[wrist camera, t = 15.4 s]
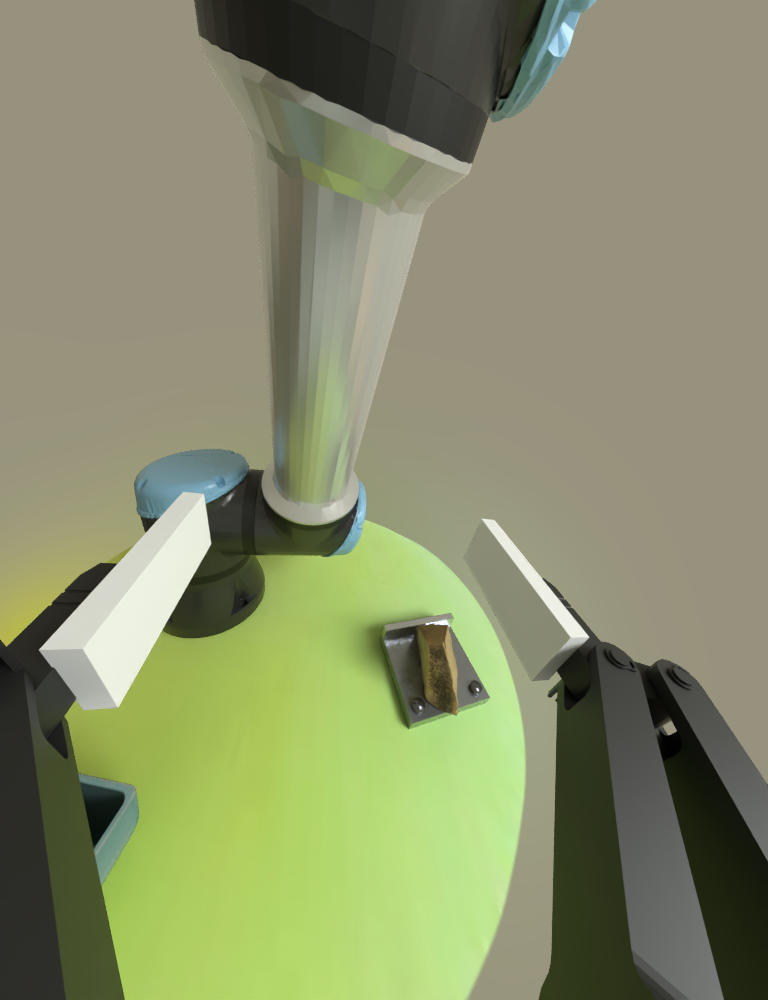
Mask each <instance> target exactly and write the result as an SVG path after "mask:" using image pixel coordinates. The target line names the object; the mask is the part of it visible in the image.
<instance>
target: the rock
mask: <svg viewBox="0 0 768 1000" xmlns="http://www.w3.org/2000/svg"><path fill="white" fill-rule="evenodd" d="M416 638H417V643H418V647H419V654H420V658H421V670H422V679H423V683H424V694H425V697H426V699H427V701H429V702H430V703H431V704H433V705H434V706H435V707H437V708H438V709H440V710H441V711H443V712H446V713H449V714H454V715H457V714H458V710H457V709H458V700H457V677H458V670H457V666H456V660H455V656H454V654H453V649H452V639H451V635H450V632H449V626H448V625H439V624H438V625H436V624H434V623H432V624H428V625H425V626H422V625H421V626H418V627H416Z"/></svg>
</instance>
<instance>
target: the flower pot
mask: <svg viewBox="0 0 768 1000" xmlns="http://www.w3.org/2000/svg"><path fill="white" fill-rule="evenodd" d="M78 775H79V780H80V785H81V790H82V795H83V800H84V804H85V809H86V814H87V819H88V824H89V829H90V834H91V838H92V843H93V848H94V853H95V858H96V863H97V868H98V872H99V877H100V882H101V886H102V884H103V883H104V881H105V879H106V877H107V876H108V874H109V872H110V871H111V869H112V867H113V866H114V864H115V862H116V861H117V859H118V857H119V856H120V854H121V852H122V851H123V849H124V847H125V846H126V844H127V842H128V841H129V839H130V837H131V835H132V833H133V831H134V829H135V827H136V824H137V822H138V817H139V808H138V800H137V795H136V788H135V787H134V786H133V785H131V784H127V783H121V782H117V781H112V780H107V779H103V778H98V777H94V776H89V775H85V774H81V773H78Z"/></svg>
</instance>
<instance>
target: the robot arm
mask: <svg viewBox="0 0 768 1000" xmlns="http://www.w3.org/2000/svg"><path fill="white" fill-rule="evenodd" d="M194 1H195V9H196V15H197V23H198V30H199V37H200V43H201V49H202V53H203V55H204V56H205V58H206V60H207V62H208V63H209V65H210V67H211V68H212V70H213V72H214V73H215V75H216V77H217V78H218V80H219V82H220V83H221V85H222V87H223V88H224V90H225V92H226V94H227V95H228V97H229V99H230V100H231V102H232V104H233V105H234V107H235V109H236V110H237V112H238V113H239V115H240V117H241V118H242V120H243V123H244V125H245V128H246V130H247V133H248V136H249V138H250V140H251V143H252V156H253V170H254V183H255V198H256V213H257V227H258V241H259V256H260V270H261V284H262V299H263V313H264V326H265V342H266V356H267V369H268V382H269V399H270V412H271V426H272V442H273V456H274V459H273V460H272V461H271V462H270V463H269V464H268V466H267V467H266V469H265V470H254V469H249V465H248V463H247V461H246V459H245V458H244V457H243V456H242V455H240V454H238V453H236V454H235V453H234V452H233V451H229V450H222V449H201V450H191V451H186V452H181V453H176V454H173V455H169V456H166V457H163V458H161V459H159V460H156V461H155V462H152V463H151V464H149V465H148V466H146V467H145V468H144V469H143V470H142V471H140V473H139V474H138V475H137V477H136V480H135V483H134V489H135V495H136V501H137V512H138V514H139V515H140V516H141V520H142V523H143V527H144V530H145V534H144V535H143V537H142V538H141V539H140V540H139V541H138V542H137V543H136V544H135V545H134V546H133V547H132V549H131V550H130V551H129V552H128V553H127V554H126V555H125V556H124V557H123V558H122V560H121V561H120V562H119V563H118V564H113V563H100V564H98V565H96V566H95V567H93V568H91V569H90V570H88V571H86V572H84V573H83V574H81V575H80V576H79V577H78V578H77V579H76V580H75V581H73V583H71V585H70V586H68V587H67V588H66V589H65V592H64V593H61V594H60V595H59V596H58V597H57V598H56V599H55V600H54V601H53V602H52V605H51V606H48V607H47V608H46V609H45V610H44V611H43V612H42V613H41V614H40V615H39V616H38V617H37V618H36V619H35V620H34V621H33V622H32V623H31V624H30V625H28V626H27V627H26V628H25V629H24V630H23V631H22V632H21V633H20V634H19V635H18V636H17V637H16V638H15V639H14V640H13V641H12V642H11V643H10V644H9V645H8V646H7V647H6V646H5V645H4V644H3V642H2V641H1V640H0V1000H125V999H124V994H123V989H122V984H121V979H120V974H119V970H118V965H117V960H116V955H115V950H114V945H113V940H112V936H111V931H110V926H109V921H108V916H107V911H106V906H105V902H104V897H103V892H102V887H101V882H100V877H99V872H98V868H97V863H96V858H95V853H94V848H93V843H92V838H91V834H90V829H89V824H88V819H87V814H86V809H85V804H84V800H83V795H82V790H81V785H80V780H79V775H78V770H77V766H76V761H75V756H74V751H73V746H72V741H71V736H70V732H69V727H68V722H67V720H66V719H65V717H64V716H65V714H66V713H67V711H68V710H69V708H70V707H71V706H72V704H73V703H74V701H75V700H76V701H77V702H78V704H79V705H80V706H81V708H82V709H83V710H92V709H108V708H118V707H119V705H120V704H121V702H122V700H123V698H124V697H125V695H126V693H127V691H128V689H129V688H130V686H131V684H132V682H133V681H134V679H135V677H136V675H137V674H138V672H139V670H140V668H141V667H142V665H143V663H144V661H145V660H146V658H147V656H148V654H149V653H150V651H151V649H152V647H153V646H154V644H155V642H156V640H157V638H158V637H159V635H160V633H161V631H162V630H163V631H165V632H167V633H169V634H171V635H174V636H178V637H183V638H201V637H207V636H212V635H215V634H219V633H221V632H224V631H226V630H229V629H231V628H233V627H235V626H236V625H238V624H240V623H241V622H242V621H244V620H245V619H246V618H248V617H249V616H250V615H251V614H252V613H253V612H254V611H255V610H256V608H257V607H258V605H259V604H260V602H261V600H262V598H263V595H264V591H265V577H264V572H263V569H262V567H261V565H260V564H259V562H258V560H257V558H256V557H255V555H308V556H323V557H329V556H330V557H331V556H334V555H345V554H347V553H349V552H351V551H352V550H353V549H354V548H355V546H356V545H357V543H358V541H359V539H360V536H361V533H362V524H363V523H364V520H365V513H366V494H365V489H364V486H363V484H362V483H361V481H359V480H358V479H357V476H356V474H355V472H354V471H353V467H354V464H355V460H356V456H357V453H358V449H359V446H360V442H361V439H362V435H363V431H364V428H365V424H366V421H367V417H368V414H369V410H370V407H371V403H372V399H373V396H374V392H375V388H376V385H377V381H378V378H379V374H380V371H381V367H382V364H383V360H384V356H385V353H386V349H387V346H388V342H389V338H390V335H391V331H392V328H393V324H394V321H395V317H396V314H397V310H398V306H399V302H400V299H401V296H402V292H403V288H404V285H405V281H406V278H407V274H408V270H409V267H410V263H411V260H412V256H413V253H414V249H415V245H416V242H417V238H418V234H419V231H420V228H421V224H422V221H423V217H424V213H425V211H426V210H427V208H428V207H429V206H430V204H431V203H432V202H433V201H434V200H436V199H437V198H438V197H439V196H441V195H442V194H443V193H444V192H446V191H447V190H449V189H450V188H451V187H452V186H454V185H455V184H456V183H458V182H459V181H460V180H461V179H463V178H464V177H465V176H467V175H468V174H469V172H470V169H471V166H472V163H473V160H474V157H475V154H476V151H477V149H478V146H479V143H480V140H481V137H482V134H483V131H484V128H485V126H486V123H487V120H488V117H490V118H491V121H492V122H497V121H500V120H502V119H503V118H510V117H513V116H515V115H517V114H518V113H520V112H521V111H523V110H524V109H525V108H526V107H528V105H529V104H530V103H531V102H532V101H533V100H534V99H535V97H536V96H537V95H538V94H539V93H540V92H541V91H542V89H543V88H544V87H545V86H546V84H547V83H548V81H549V80H550V78H551V77H552V75H553V74H554V72H555V71H556V69H557V68H558V66H559V65H560V63H561V62H562V60H563V59H564V57H565V55H566V53H567V50H568V48H569V46H570V42H571V39H572V36H573V33H574V29H575V26H576V23H577V21H578V18H579V16H580V14H581V12H584V11H585V10H587V9H588V8H590V7H591V6H592V5H593V4H594V3H595V2H596V0H194ZM464 559H465V561H466V563H467V565H468V566H469V568H470V570H471V572H472V574H473V575H474V577H475V579H476V581H477V583H478V584H479V586H480V588H481V590H482V592H483V594H484V595H485V597H486V599H487V601H488V603H489V605H490V606H491V608H492V610H493V612H494V614H495V616H496V617H497V619H498V621H499V623H500V625H501V626H502V628H503V630H504V632H505V634H506V636H507V637H508V639H509V641H510V643H511V645H512V647H513V648H514V650H515V652H516V654H517V655H518V657H519V659H520V661H521V663H522V665H523V666H524V668H525V670H526V672H527V674H528V676H529V677H530V679H531V681H538V680H549V679H550V678H551V676H553V675H554V673H555V672H556V671H557V672H558V674H559V675H560V677H561V678H562V679H561V680H560V681H559V682H558V683H557V684H556V685H555V686H554V687H553V688H552V689H551V690H550V691H549V693H548V697H550V698H551V697H552V696H553V695H554V694H555V693H556V692H558V695H557V699H556V700H555V701H556V702H557V740H556V783H555V827H554V870H553V871H554V872H553V914H552V954H551V964H550V969H549V973H548V975H547V977H546V979H545V981H544V983H543V986H542V988H541V992H540V996H539V1000H768V784H767V783H766V781H765V780H764V779H763V777H762V776H761V774H760V773H759V771H758V769H757V768H756V767H755V765H754V764H753V762H752V761H751V759H750V758H749V756H748V755H747V753H746V752H745V750H744V749H743V747H742V746H741V744H740V743H739V742H738V740H737V738H736V737H735V735H734V734H733V732H732V731H731V729H730V728H729V726H728V725H727V723H726V722H725V720H724V719H723V717H722V716H721V715H720V713H719V712H718V710H717V709H716V707H715V706H714V704H713V703H712V701H711V700H710V698H709V697H708V695H707V694H706V692H705V691H704V689H703V688H702V686H700V684H699V683H698V682H697V680H696V679H695V678H693V676H691V675H690V674H689V673H688V672H687V671H686V670H684V669H683V668H682V667H680V666H678V665H677V664H674V663H672V662H670V661H667V660H663V659H661V660H658V661H657V662H655V663H654V664H653V665H652V666H647V665H644V664H641V663H637V662H634V661H633V660H632V659H631V658H630V657H629V656H628V655H627V654H626V653H624V651H622V650H621V649H619V648H618V647H616V646H615V645H612V644H610V643H607V642H601V641H600V640H599V639H598V638H597V637H596V635H595V634H594V633H593V632H592V631H591V629H590V628H589V627H588V626H587V625H586V623H585V622H584V621H583V620H582V619H581V617H580V616H579V615H578V614H577V613H576V611H575V610H574V609H573V608H571V605H570V604H569V603H568V602H567V601H566V600H564V597H563V596H562V595H561V594H560V592H559V591H558V590H557V589H556V588H555V587H554V586H553V585H552V584H551V583H549V582H548V581H546V580H545V579H544V578H541V577H540V576H539V574H538V573H537V572H536V571H535V570H534V568H533V567H532V566H531V565H530V563H529V562H528V561H527V560H526V559H525V557H524V556H523V555H522V554H521V552H520V551H519V550H518V549H517V547H516V546H515V545H514V544H513V542H512V541H511V540H510V539H509V538H508V536H507V535H506V534H505V533H504V532H503V530H502V529H501V528H500V527H499V525H498V524H497V523H496V522H495V520H488V519H481V521H480V523H479V526H478V528H477V530H476V532H475V534H474V536H473V538H472V540H471V543H470V545H469V547H468V549H467V551H466V553H465V555H464ZM671 720H672V722H673V724H674V726H675V728H676V729H677V732H675V733H673V734H672V735H667V733H666V731H665V730H664V728H663V725H664V724H666V723H668V722H670V721H671Z"/></svg>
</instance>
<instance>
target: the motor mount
mask: <svg viewBox="0 0 768 1000" xmlns="http://www.w3.org/2000/svg"><path fill="white" fill-rule="evenodd" d="M453 619H454V618H453V616H452V614H451V613H448V614H443V615H437V616H432V617H426V618H420V619H415V620H409V621H404V622H398V623H392V624H387V625H384V627H383V630H382V633H381V636H380V641H381V644H382V647H383V650H384V653H385V656H386V659H387V663H388V666H389V669H390V672H391V675H392V678H393V681H394V684H395V687H396V691H397V694H398V697H399V700H400V703H401V706H402V709H403V712H404V715H405V719H406V722H407V725H408V728H409V729H411V728H413V727H416V726H419V725H422V724H425V723H428V722H431V721H434V720H437V719H440V718H443V717H446V716H449V715H451V714H449V713H446V712H443V711H441V710H440V709H438V708H437V707H435V706H434V705H433V704H431V703H430V702H429V701H427V699H426V697H425V694H424V683H423V679H422V670H421V658H420V654H419V647H418V643H417V638H416V627H418V626H421V625H422V626H425V625H428V624H432V623H434V624H436V625H438V624H439V625H448V626H449V632H450V635H451V639H452V649H453V654H454V656H455V660H456V666H457V670H458V677H457V700H458V709H457V710H458V712H460V711H463V710H466V709H469V708H472V707H475V706H478V705H481V704H484V703H486V702H487V701H488V699H489V698H490V697H489V695H488V693H487V691H486V690H485V688H484V686H483V684H482V682H481V681H480V679H479V677H478V675H477V674H476V672H475V670H474V668H473V666H472V665H471V663H470V661H469V659H468V657H467V656H466V654H465V652H464V650H463V648H462V647H461V645H460V643H459V641H458V639H457V638H456V636H455V634H454V632H453V630H452V629H451V627H450V625H451V623H452V621H453Z"/></svg>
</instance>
